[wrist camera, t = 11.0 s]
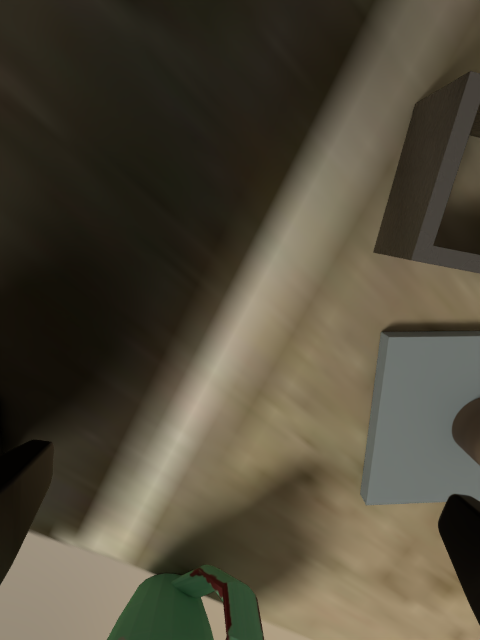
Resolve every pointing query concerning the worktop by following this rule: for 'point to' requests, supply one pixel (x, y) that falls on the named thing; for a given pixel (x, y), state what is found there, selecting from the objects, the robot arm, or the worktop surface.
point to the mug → (188, 608)
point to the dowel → (468, 429)
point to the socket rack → (431, 175)
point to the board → (421, 418)
